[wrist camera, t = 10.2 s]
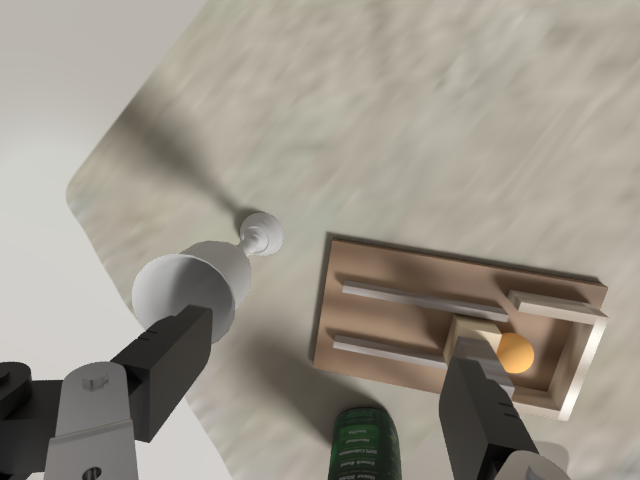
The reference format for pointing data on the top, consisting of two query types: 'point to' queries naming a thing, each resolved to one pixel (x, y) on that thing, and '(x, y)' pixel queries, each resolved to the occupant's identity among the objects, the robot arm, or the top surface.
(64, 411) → the robot arm
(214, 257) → the chalice
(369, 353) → the board
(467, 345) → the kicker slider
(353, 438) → the coffee jar
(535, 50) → the top surface
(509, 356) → the ball
